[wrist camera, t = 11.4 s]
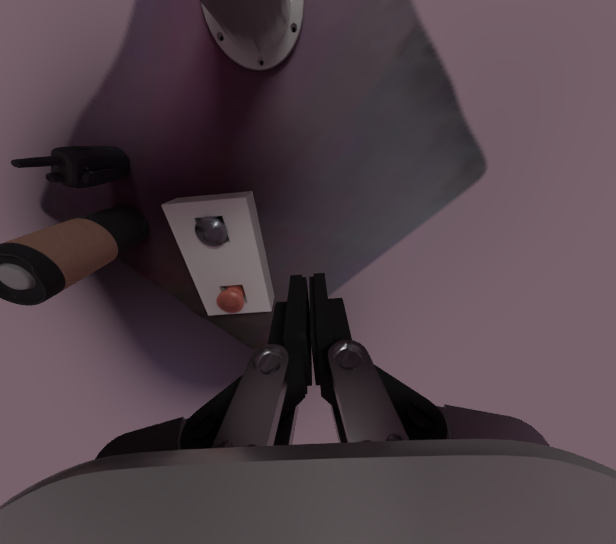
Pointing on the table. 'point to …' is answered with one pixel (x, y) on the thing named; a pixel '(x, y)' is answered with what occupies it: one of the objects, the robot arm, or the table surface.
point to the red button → (231, 299)
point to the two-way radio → (81, 165)
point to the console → (223, 249)
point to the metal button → (211, 230)
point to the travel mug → (66, 253)
